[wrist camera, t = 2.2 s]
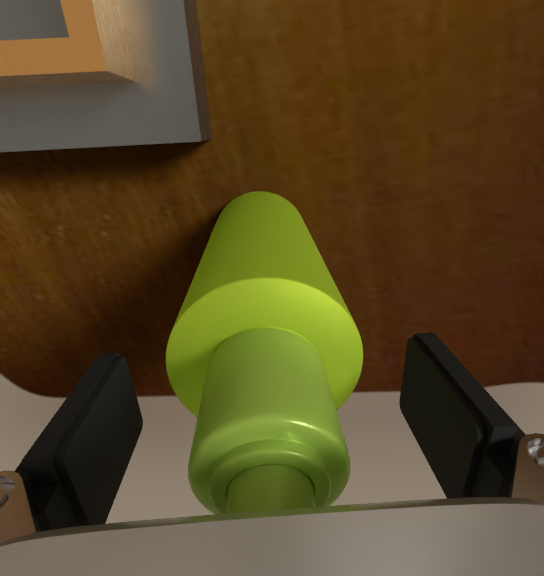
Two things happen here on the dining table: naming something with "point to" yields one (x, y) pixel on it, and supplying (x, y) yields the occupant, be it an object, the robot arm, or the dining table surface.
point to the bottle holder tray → (100, 74)
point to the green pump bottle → (264, 364)
